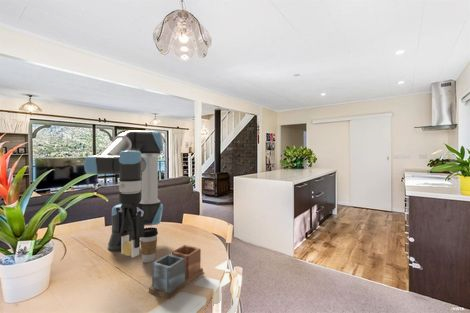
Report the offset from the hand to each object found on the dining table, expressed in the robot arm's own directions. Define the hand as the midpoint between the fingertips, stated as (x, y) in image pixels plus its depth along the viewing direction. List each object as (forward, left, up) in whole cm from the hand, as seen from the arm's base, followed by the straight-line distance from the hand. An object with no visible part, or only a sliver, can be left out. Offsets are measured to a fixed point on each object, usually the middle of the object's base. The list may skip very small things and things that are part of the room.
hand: (130, 254), depth 85 cm
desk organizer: (+11, +14, -14) cm, 22 cm away
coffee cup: (-14, +22, -14) cm, 29 cm away
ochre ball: (0, 0, +2) cm, 2 cm away
